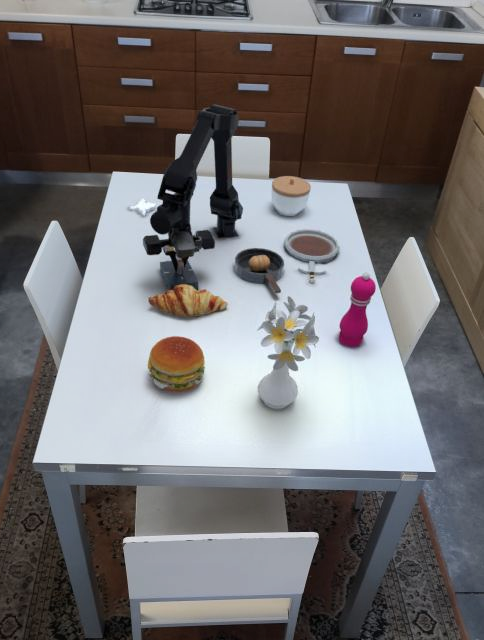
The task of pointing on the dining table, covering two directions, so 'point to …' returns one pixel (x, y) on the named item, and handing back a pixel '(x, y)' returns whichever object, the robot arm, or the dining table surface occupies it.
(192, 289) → the croissant
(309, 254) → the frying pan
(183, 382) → the burger
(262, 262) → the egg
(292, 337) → the flower vase
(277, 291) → the egg pan handle
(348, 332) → the pepper mill
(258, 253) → the egg pan
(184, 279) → the hob control
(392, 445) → the dining table surface
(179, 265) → the hob knob
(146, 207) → the acanthus leaf ornament
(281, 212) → the lidded bowl
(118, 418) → the dining table surface
